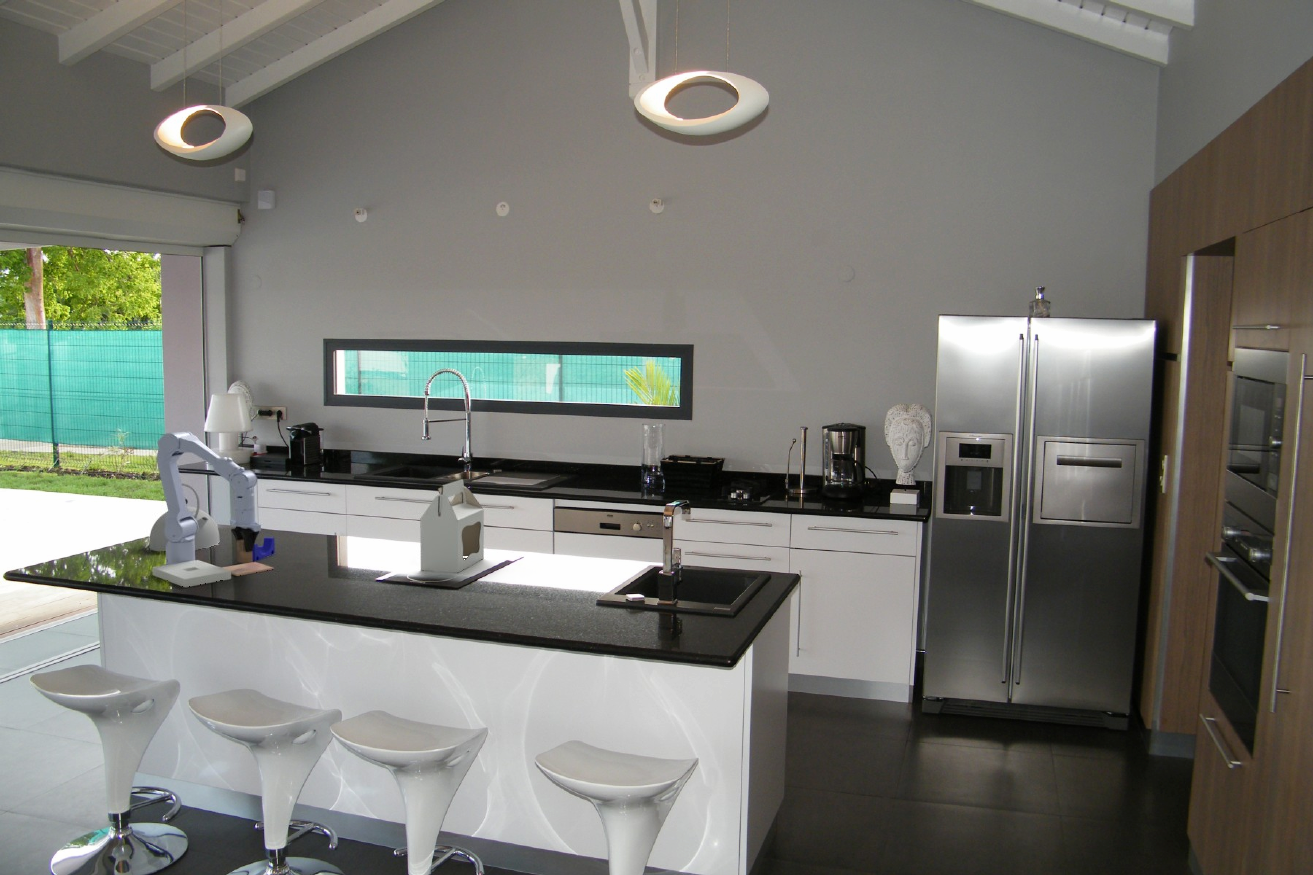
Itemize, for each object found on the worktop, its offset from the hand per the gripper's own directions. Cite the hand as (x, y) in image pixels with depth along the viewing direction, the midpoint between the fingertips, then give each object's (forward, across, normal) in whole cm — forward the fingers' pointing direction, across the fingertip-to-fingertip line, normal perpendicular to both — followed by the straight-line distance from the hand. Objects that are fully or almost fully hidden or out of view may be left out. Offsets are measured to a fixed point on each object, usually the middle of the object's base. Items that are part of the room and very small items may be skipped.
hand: (246, 550), depth 300 cm
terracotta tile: (+6, 0, 0) cm, 6 cm away
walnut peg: (+3, 0, 0) cm, 4 cm away
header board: (+6, -4, -16) cm, 17 cm away
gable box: (+7, +45, +47) cm, 66 cm away
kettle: (+6, -50, +7) cm, 50 cm away
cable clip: (+7, -13, +12) cm, 19 cm away
